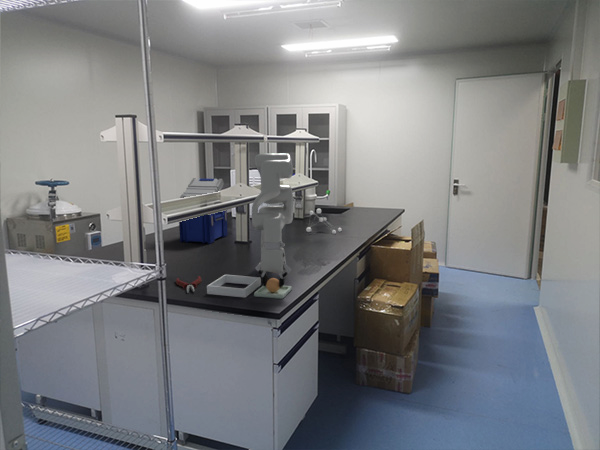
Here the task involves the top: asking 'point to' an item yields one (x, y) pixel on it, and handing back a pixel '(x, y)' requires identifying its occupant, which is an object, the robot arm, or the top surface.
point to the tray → (278, 294)
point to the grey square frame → (236, 292)
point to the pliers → (186, 285)
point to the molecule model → (321, 221)
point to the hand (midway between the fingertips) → (273, 285)
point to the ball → (273, 285)
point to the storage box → (206, 225)
